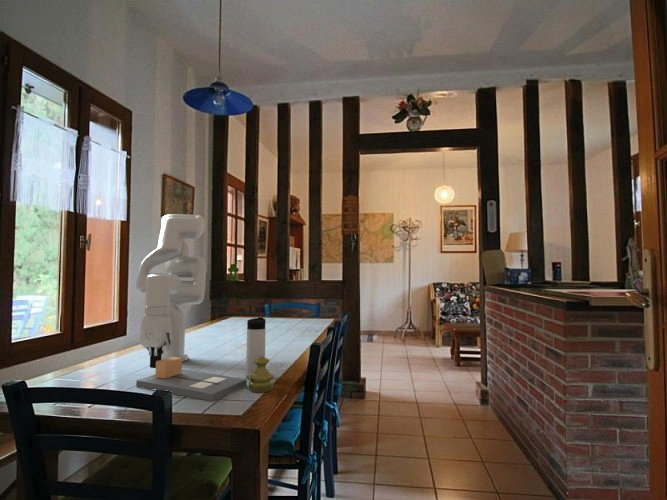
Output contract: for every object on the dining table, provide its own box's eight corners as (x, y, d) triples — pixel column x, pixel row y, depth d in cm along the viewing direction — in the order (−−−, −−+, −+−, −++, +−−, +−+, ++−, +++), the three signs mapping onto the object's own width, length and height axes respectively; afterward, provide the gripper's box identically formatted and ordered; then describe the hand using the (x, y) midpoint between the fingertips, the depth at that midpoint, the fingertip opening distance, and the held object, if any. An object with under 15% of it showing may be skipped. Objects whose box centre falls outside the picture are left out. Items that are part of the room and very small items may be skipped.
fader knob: (155, 377, 124) (155, 361, 124) (172, 371, 130) (173, 356, 130) (164, 378, 122) (165, 362, 122) (181, 373, 129) (182, 358, 129)
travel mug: (268, 375, 135) (269, 317, 136) (258, 380, 129) (260, 320, 129) (252, 373, 137) (253, 316, 138) (242, 378, 131) (243, 319, 132)
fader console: (136, 386, 121) (136, 379, 121) (176, 373, 136) (176, 367, 136) (211, 401, 109) (212, 393, 109) (246, 385, 123) (246, 378, 123)
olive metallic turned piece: (259, 384, 125) (260, 353, 125) (277, 388, 121) (278, 355, 122) (243, 390, 119) (244, 357, 119) (262, 394, 115) (262, 360, 115)
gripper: (131, 311, 129) (129, 367, 128) (164, 314, 123) (162, 372, 122) (150, 309, 136) (148, 362, 135) (182, 311, 130) (181, 367, 129)
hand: (155, 366), depth 129 cm, fingers closed
